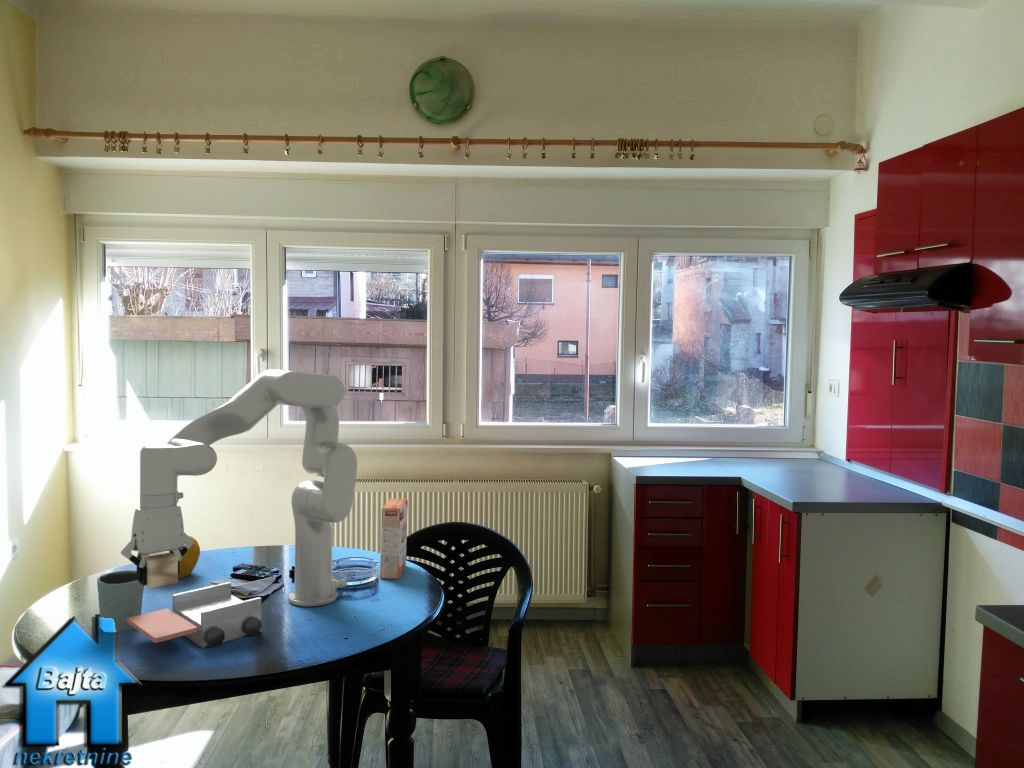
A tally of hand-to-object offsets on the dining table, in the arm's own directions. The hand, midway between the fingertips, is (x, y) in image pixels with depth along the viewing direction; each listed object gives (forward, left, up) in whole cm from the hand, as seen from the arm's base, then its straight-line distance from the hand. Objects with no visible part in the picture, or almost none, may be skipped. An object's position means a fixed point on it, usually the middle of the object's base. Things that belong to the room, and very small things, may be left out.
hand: (158, 579), depth 168 cm
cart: (-13, 0, -15) cm, 20 cm away
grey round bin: (+2, -17, -15) cm, 23 cm away
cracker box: (-71, -7, -15) cm, 73 cm away
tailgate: (-5, 0, -10) cm, 12 cm away
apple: (-23, -46, -15) cm, 54 cm away
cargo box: (0, 0, -1) cm, 1 cm away
